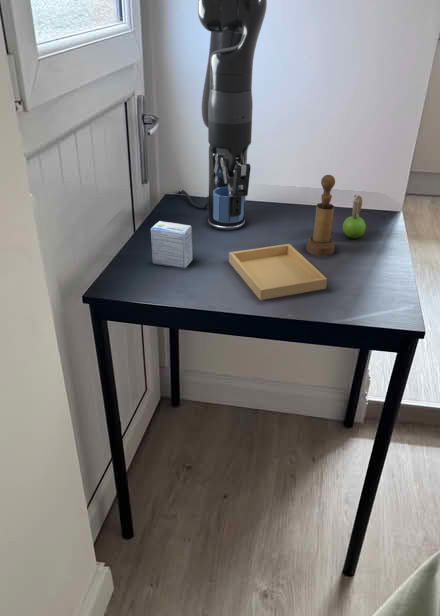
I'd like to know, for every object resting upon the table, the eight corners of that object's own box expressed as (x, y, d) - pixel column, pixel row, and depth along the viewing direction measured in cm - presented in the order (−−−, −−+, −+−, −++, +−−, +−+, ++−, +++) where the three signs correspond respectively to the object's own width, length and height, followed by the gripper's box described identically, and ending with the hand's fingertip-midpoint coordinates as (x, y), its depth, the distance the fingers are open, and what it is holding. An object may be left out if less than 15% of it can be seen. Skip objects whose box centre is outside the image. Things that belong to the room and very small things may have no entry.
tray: (228, 263, 125) (229, 252, 123) (288, 254, 129) (289, 243, 128) (260, 302, 111) (260, 290, 109) (325, 290, 115) (327, 278, 113)
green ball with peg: (338, 241, 135) (344, 193, 129) (343, 231, 140) (350, 185, 134) (361, 245, 134) (368, 196, 127) (365, 235, 139) (373, 188, 132)
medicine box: (192, 261, 125) (192, 225, 121) (185, 270, 122) (184, 233, 117) (160, 255, 127) (158, 220, 123) (152, 264, 124) (150, 227, 119)
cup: (208, 213, 107) (208, 188, 105) (237, 210, 109) (237, 185, 106) (218, 224, 103) (219, 198, 100) (248, 220, 104) (249, 195, 102)
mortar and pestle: (333, 258, 127) (343, 181, 118) (304, 255, 128) (312, 179, 119) (334, 246, 133) (344, 171, 123) (306, 243, 134) (314, 169, 124)
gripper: (267, 124, 92) (262, 221, 100) (235, 106, 103) (232, 194, 112) (224, 128, 89) (223, 226, 98) (196, 109, 101) (197, 199, 110)
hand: (228, 209), depth 105 cm, fingers closed on cup, 5 cm apart
